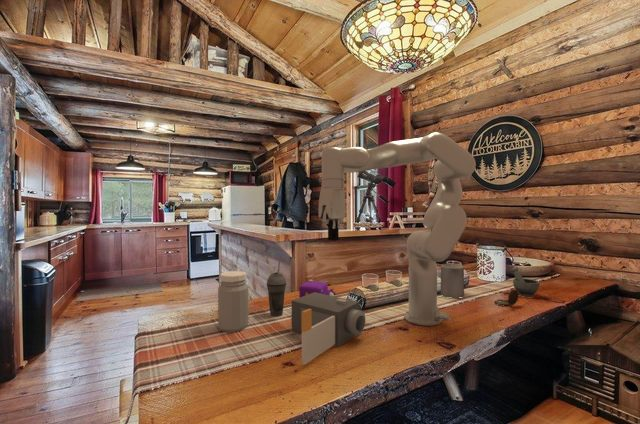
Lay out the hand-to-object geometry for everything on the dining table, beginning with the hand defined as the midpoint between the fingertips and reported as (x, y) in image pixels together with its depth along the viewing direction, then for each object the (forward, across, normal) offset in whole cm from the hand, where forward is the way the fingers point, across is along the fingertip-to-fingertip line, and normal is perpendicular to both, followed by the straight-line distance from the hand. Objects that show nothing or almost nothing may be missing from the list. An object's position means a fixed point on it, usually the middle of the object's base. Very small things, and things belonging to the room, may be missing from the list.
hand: (333, 240), depth 101 cm
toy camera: (+29, -12, -16) cm, 35 cm away
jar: (+29, +21, -26) cm, 44 cm away
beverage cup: (+29, +4, -23) cm, 37 cm away
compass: (+30, -60, +43) cm, 79 cm away
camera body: (+29, +6, +3) cm, 30 cm away
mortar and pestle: (+30, -81, +49) cm, 99 cm away
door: (+28, +20, +9) cm, 35 cm away
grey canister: (+30, -61, +23) cm, 72 cm away
